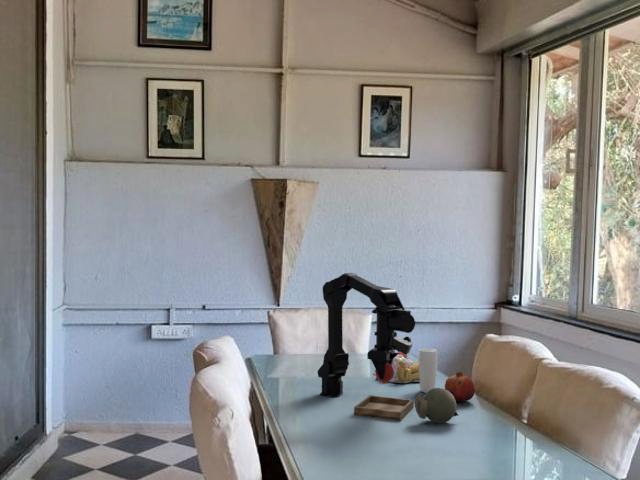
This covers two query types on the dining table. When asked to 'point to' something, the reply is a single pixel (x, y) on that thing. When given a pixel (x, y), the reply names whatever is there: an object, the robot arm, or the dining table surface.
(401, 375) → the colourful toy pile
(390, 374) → the onion
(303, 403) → the dining table surface
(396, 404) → the tray
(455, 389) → the fruit
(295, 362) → the dining table surface
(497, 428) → the dining table surface
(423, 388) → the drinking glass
